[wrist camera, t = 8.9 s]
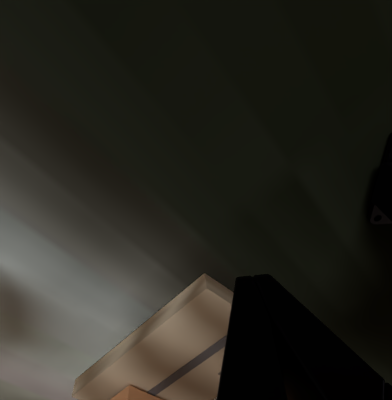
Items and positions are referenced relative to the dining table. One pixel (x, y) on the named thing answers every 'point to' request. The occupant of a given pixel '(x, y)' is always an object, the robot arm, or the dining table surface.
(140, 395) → the fader tab
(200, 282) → the fader console
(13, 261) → the dining table surface
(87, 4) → the dining table surface
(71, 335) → the dining table surface
